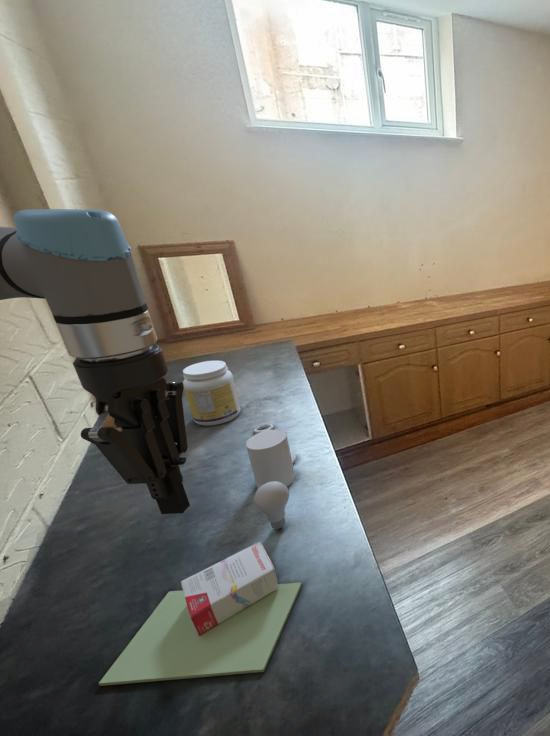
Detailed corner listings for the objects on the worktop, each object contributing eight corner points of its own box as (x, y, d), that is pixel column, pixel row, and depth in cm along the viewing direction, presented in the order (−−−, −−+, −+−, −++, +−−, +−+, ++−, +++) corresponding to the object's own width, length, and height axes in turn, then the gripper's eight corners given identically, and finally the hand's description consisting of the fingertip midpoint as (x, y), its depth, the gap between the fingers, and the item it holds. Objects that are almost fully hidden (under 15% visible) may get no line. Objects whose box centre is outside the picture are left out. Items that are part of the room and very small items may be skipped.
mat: (99, 686, 56) (98, 683, 55) (169, 593, 69) (169, 591, 68) (264, 671, 58) (263, 669, 58) (302, 584, 71) (301, 582, 71)
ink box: (196, 638, 61) (280, 590, 69) (188, 616, 59) (275, 569, 67) (187, 600, 67) (266, 560, 75) (179, 578, 65) (260, 539, 73)
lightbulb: (288, 512, 87) (278, 470, 83) (300, 526, 83) (291, 483, 79) (257, 528, 82) (245, 485, 78) (269, 544, 79) (257, 500, 75)
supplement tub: (203, 409, 126) (189, 361, 120) (247, 405, 130) (235, 357, 124) (187, 430, 115) (170, 377, 109) (235, 424, 119) (221, 373, 113)
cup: (302, 471, 99) (293, 430, 95) (281, 494, 92) (271, 450, 87) (271, 469, 100) (262, 428, 96) (248, 491, 93) (237, 447, 88)
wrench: (277, 472, 100) (299, 463, 103) (275, 467, 99) (298, 458, 102) (252, 430, 116) (272, 424, 119) (250, 425, 115) (271, 419, 119)
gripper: (104, 373, 40) (172, 546, 49) (189, 332, 52) (231, 477, 61) (22, 374, 39) (105, 550, 48) (127, 332, 51) (179, 479, 60)
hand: (175, 509), depth 54 cm, fingers closed
